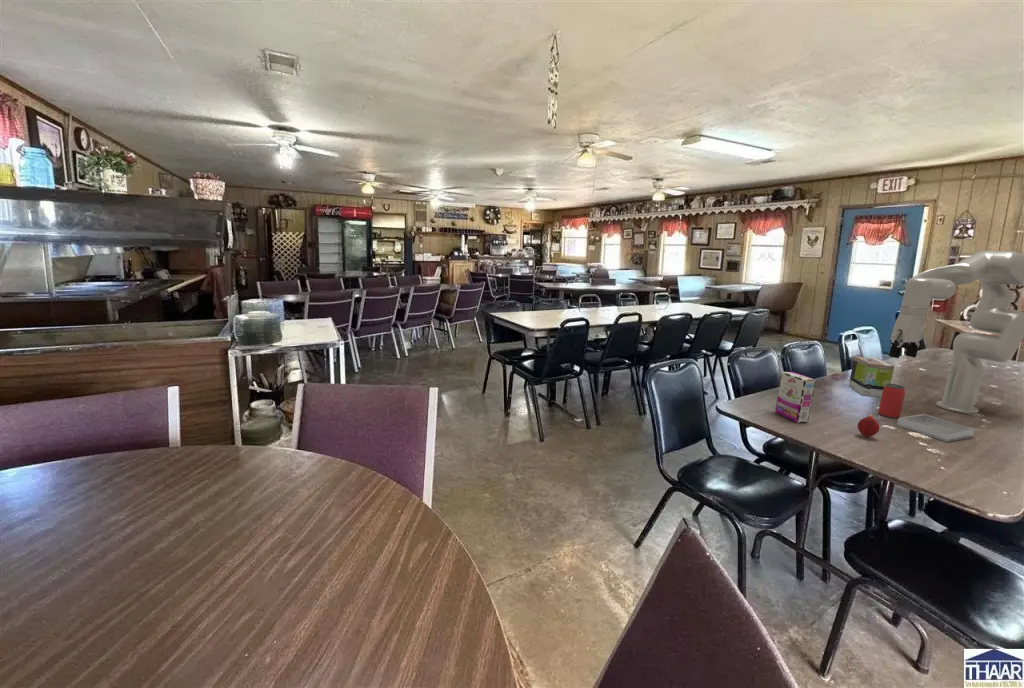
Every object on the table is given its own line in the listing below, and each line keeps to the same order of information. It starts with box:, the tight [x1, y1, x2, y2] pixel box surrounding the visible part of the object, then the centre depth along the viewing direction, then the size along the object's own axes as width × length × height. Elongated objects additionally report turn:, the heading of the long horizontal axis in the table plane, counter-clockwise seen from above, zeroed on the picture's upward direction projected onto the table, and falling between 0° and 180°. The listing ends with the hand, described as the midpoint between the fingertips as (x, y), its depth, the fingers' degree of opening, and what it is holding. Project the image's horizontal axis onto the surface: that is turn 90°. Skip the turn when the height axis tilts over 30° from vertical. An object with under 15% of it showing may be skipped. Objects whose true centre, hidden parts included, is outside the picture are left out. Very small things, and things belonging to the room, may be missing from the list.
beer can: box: [877, 383, 906, 419], centre depth 177 cm, size 7×7×12 cm
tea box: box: [848, 356, 895, 398], centre depth 206 cm, size 15×10×15 cm
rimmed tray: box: [896, 413, 975, 443], centre depth 163 cm, size 15×15×3 cm
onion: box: [857, 414, 880, 438], centre depth 155 cm, size 6×6×8 cm
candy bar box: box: [774, 371, 817, 424], centre depth 170 cm, size 11×5×16 cm, turn 12°
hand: (902, 356), depth 173 cm, fingers open, 9 cm apart
